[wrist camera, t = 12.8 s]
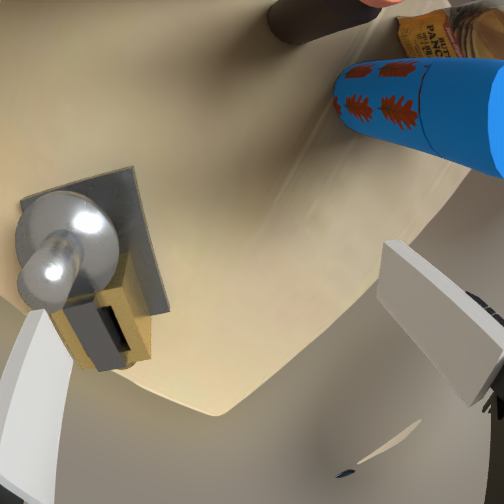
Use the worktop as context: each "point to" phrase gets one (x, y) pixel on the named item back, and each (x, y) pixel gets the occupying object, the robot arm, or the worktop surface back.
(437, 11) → the pancake mix bag
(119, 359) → the grey slab block
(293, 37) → the bottle
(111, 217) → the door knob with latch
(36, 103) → the worktop surface
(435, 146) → the thermos
